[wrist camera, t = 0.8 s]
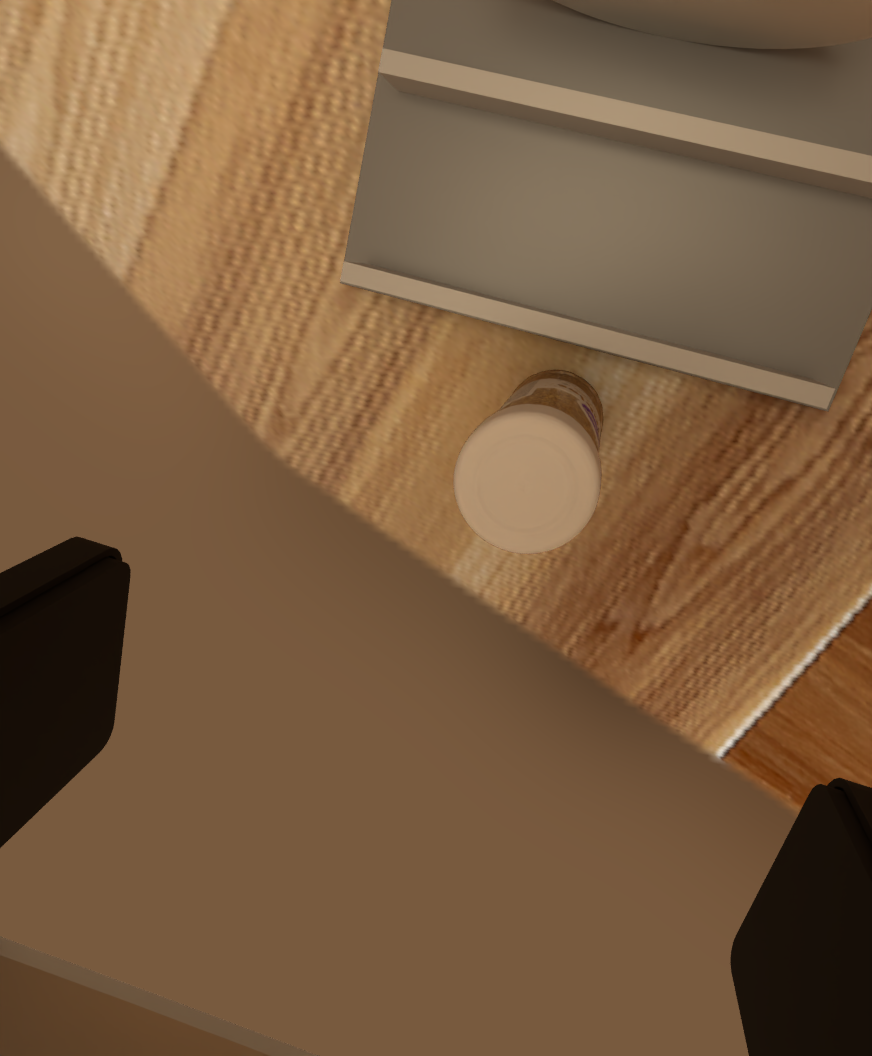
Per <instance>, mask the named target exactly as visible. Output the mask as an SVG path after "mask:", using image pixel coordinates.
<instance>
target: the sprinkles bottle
mask: <svg viewBox="0 0 872 1056" xmlns="http://www.w3.org/2000/svg"><path fill="white" fill-rule="evenodd" d="M602 424H603V412H602V404H601V402H600V400H599V398H598V395H597V393H596V391H595V390H594V389H593V388H592V387H591V386H590V385H589V384H588V383H587V382H586V381H585V380H584V379H582V378H581V377H579V376H577V375H575V374H573V373H571V372H567V371H561V370H550V371H544V372H541V373H538V374H535V375H532V376H530V377H528V378H527V379H526V380H525V381H524V382H523V383H522V384H520V385H519V386H518V387H517V389H516V390H515V391H514V393H513V394H512V396H511V397H510V398H509V399H508V400H507V401H506V402H505V404H504V405H503V406H502V407H501V408H500V409H499V410H498V411H497V412H496V413H494V414H492V415H491V416H489V417H488V418H487V419H486V420H484V421H483V422H482V423H481V424H480V425H479V426H478V427H477V428H476V429H475V430H474V432H473V433H472V434H471V435H470V437H469V438H468V439H467V441H466V442H465V444H464V446H463V447H462V449H461V451H460V453H459V456H458V459H457V462H456V466H455V470H454V492H455V498H456V501H457V504H458V507H459V510H460V512H461V514H462V516H463V517H464V519H465V521H466V522H467V523H468V525H469V526H470V527H471V528H472V529H473V530H474V531H475V533H476V534H477V535H479V536H480V537H481V538H482V539H484V540H485V541H487V542H488V543H490V544H492V545H494V546H496V547H498V548H500V549H503V550H506V551H509V552H514V553H520V554H535V553H541V552H547V551H550V550H553V549H556V548H558V547H560V546H562V545H564V544H566V543H567V542H569V541H570V540H572V539H573V538H574V537H575V536H577V535H578V534H579V533H580V532H581V531H582V530H583V528H584V527H585V526H586V525H587V523H588V522H589V520H590V519H591V517H592V515H593V513H594V511H595V509H596V506H597V503H598V499H599V494H600V488H601V463H600V458H599V454H598V452H599V443H600V434H601V430H602Z"/></svg>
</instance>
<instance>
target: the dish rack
mask: <svg viewBox="0 0 872 1056" xmlns="http://www.w3.org/2000/svg"><path fill="white" fill-rule="evenodd" d="M340 283H342V284H346V285H350V286H353V287H357V288H361V289H365V290H369V291H372V292H376V293H380V294H384V295H388V296H391V297H395V298H399V299H403V300H407V301H410V302H414V303H418V304H422V305H426V306H429V307H433V308H437V309H441V310H445V311H448V312H452V313H456V314H460V315H464V316H467V317H471V318H475V319H479V320H483V321H486V322H490V323H494V324H498V325H502V326H505V327H509V328H513V329H517V330H521V331H524V332H528V333H532V334H536V335H540V336H543V337H547V338H551V339H555V340H558V341H562V342H566V343H570V344H574V345H577V346H581V347H585V348H589V349H593V350H596V351H600V352H604V353H608V354H612V355H615V356H619V357H623V358H627V359H631V360H634V361H638V362H642V363H646V364H650V365H653V366H657V367H661V368H665V369H669V370H672V371H676V372H680V373H684V374H688V375H691V376H695V377H699V378H703V379H707V380H710V381H714V382H718V383H722V384H726V385H729V386H733V387H737V388H741V389H745V390H748V391H752V392H756V393H760V394H764V395H767V396H771V397H775V398H779V399H783V400H786V401H790V402H794V403H798V404H802V405H805V406H809V407H813V408H817V409H821V410H824V411H829V409H830V407H831V404H832V402H833V399H834V397H835V395H836V392H837V390H838V388H839V385H840V383H841V381H842V378H843V376H844V373H845V371H846V369H847V366H848V364H849V362H850V359H851V357H852V355H853V352H854V350H855V348H856V345H857V343H858V340H859V338H860V336H861V333H862V331H863V329H864V326H865V324H866V322H867V319H868V317H869V315H870V312H871V310H872V0H392V1H391V6H390V12H389V17H388V23H387V28H386V34H385V39H384V45H383V48H382V54H381V59H380V65H379V70H378V78H377V83H376V89H375V94H374V100H373V105H372V111H371V116H370V122H369V127H368V133H367V138H366V144H365V149H364V155H363V160H362V166H361V171H360V177H359V182H358V188H357V193H356V199H355V204H354V210H353V215H352V221H351V226H350V232H349V237H348V243H347V248H346V254H345V259H344V263H343V268H342V274H341V279H340Z"/></svg>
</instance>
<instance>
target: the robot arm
mask: <svg viewBox="0 0 872 1056" xmlns="http://www.w3.org/2000/svg"><path fill="white" fill-rule="evenodd" d="M129 583H130V567H129V565H128V564H127V563H125V562H122V557H121V554H120V552H119V551H118V549H115V548H112V547H109V546H106V545H103V544H100V543H97V542H94V541H90V540H87V539H84V538H81V537H74V538H71V539H69V540H66V541H65V542H62V543H60V544H58V545H56V546H54V547H52V548H50V549H48V550H46V551H44V552H42V553H40V554H38V555H36V556H34V557H32V558H30V559H28V560H26V561H24V562H22V563H20V564H18V565H16V566H14V567H12V568H10V569H8V570H6V571H4V572H2V573H0V848H1V847H2V846H3V845H4V844H5V843H6V842H7V841H8V840H9V839H10V838H11V837H12V836H13V835H14V834H15V833H16V832H17V831H18V830H19V829H20V828H22V827H23V826H24V825H25V824H26V823H27V822H28V821H29V820H30V819H31V818H32V817H33V816H34V815H35V814H36V813H37V812H38V811H39V810H40V809H41V808H42V807H43V806H44V805H45V804H46V803H48V802H49V801H50V800H51V799H52V798H53V797H54V796H55V795H56V794H57V793H58V792H59V791H60V790H61V789H62V788H63V787H64V786H65V785H66V784H67V783H68V782H69V781H70V780H71V779H72V778H74V777H75V776H76V775H77V774H78V773H79V772H80V771H81V770H82V769H83V768H84V767H85V766H86V765H87V764H88V763H89V762H90V761H91V760H92V759H93V758H94V757H95V756H96V755H97V754H98V753H99V752H100V751H101V750H102V749H103V748H104V746H105V745H106V743H107V742H108V740H109V738H110V736H111V733H112V730H113V726H114V720H115V711H116V701H117V693H118V684H119V674H120V665H121V656H122V647H123V638H124V628H125V620H126V611H127V602H128V593H129ZM731 972H732V977H733V981H734V986H735V991H736V996H737V1000H738V1005H739V1010H740V1015H741V1019H742V1024H743V1029H744V1034H745V1039H746V1043H747V1048H748V1053H749V1056H872V788H870V787H867V786H864V785H861V784H857V783H854V782H851V781H848V780H845V779H842V778H837V779H834V780H833V781H831V782H830V783H829V784H828V786H826V785H822V784H819V785H816V786H815V787H814V788H813V789H812V791H811V792H810V794H809V795H808V797H807V799H806V801H805V803H804V805H803V807H802V809H801V811H800V813H799V815H798V817H797V819H796V821H795V823H794V824H793V826H792V828H791V830H790V832H789V834H788V836H787V838H786V840H785V842H784V844H783V846H782V848H781V850H780V851H779V853H778V855H777V857H776V859H775V861H774V863H773V865H772V867H771V869H770V871H769V873H768V875H767V877H766V879H765V880H764V882H763V885H762V886H761V888H760V890H759V892H758V894H757V896H756V898H755V900H754V902H753V904H752V906H751V908H750V910H749V911H748V913H747V916H746V917H745V919H744V921H743V923H742V925H741V927H740V929H739V931H738V933H737V935H736V937H735V939H734V942H733V946H732V951H731ZM0 1056H318V1055H316V1054H313V1053H310V1052H307V1051H305V1050H302V1049H300V1048H297V1047H294V1046H292V1045H289V1044H286V1043H283V1042H281V1041H278V1040H276V1039H273V1038H271V1037H268V1036H265V1035H262V1034H260V1033H257V1032H255V1031H252V1030H249V1029H247V1028H244V1027H241V1026H239V1025H236V1024H233V1023H231V1022H228V1021H226V1020H223V1019H220V1018H218V1017H215V1016H212V1015H210V1014H207V1013H204V1012H202V1011H199V1010H196V1009H194V1008H191V1007H188V1006H186V1005H183V1004H180V1003H178V1002H175V1001H173V1000H170V999H167V998H164V997H162V996H159V995H157V994H154V993H151V992H148V991H145V990H143V989H140V988H138V987H135V986H132V985H130V984H127V983H124V982H121V981H119V980H116V979H113V978H111V977H108V976H105V975H102V974H100V973H97V972H95V971H92V970H89V969H87V968H84V967H81V966H79V965H76V964H73V963H70V962H67V961H65V960H62V959H59V958H57V957H54V956H51V955H49V954H46V953H43V952H41V951H38V950H35V949H33V948H30V947H27V946H25V945H22V944H19V943H16V942H14V941H11V940H8V939H6V938H3V937H0Z"/></svg>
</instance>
